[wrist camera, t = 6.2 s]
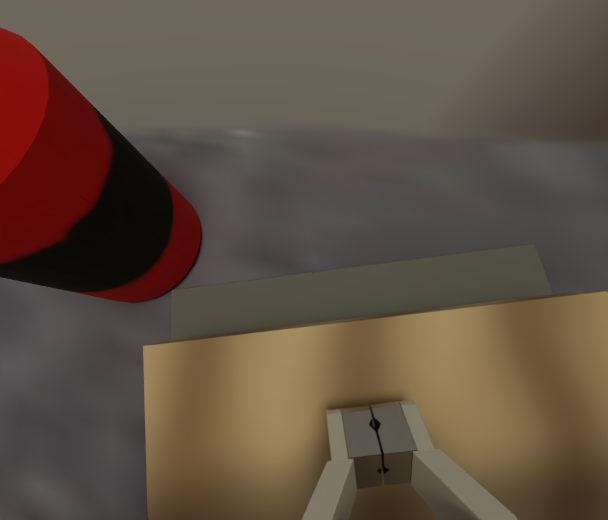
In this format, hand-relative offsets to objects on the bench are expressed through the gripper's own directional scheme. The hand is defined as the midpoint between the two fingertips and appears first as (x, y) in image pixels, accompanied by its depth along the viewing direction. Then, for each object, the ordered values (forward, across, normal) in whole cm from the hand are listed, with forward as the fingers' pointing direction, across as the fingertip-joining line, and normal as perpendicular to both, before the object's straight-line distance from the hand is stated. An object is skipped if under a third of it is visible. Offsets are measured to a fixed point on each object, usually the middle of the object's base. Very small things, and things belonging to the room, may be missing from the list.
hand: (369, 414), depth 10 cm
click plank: (+1, -1, +4) cm, 4 cm away
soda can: (+11, +12, -4) cm, 16 cm away
